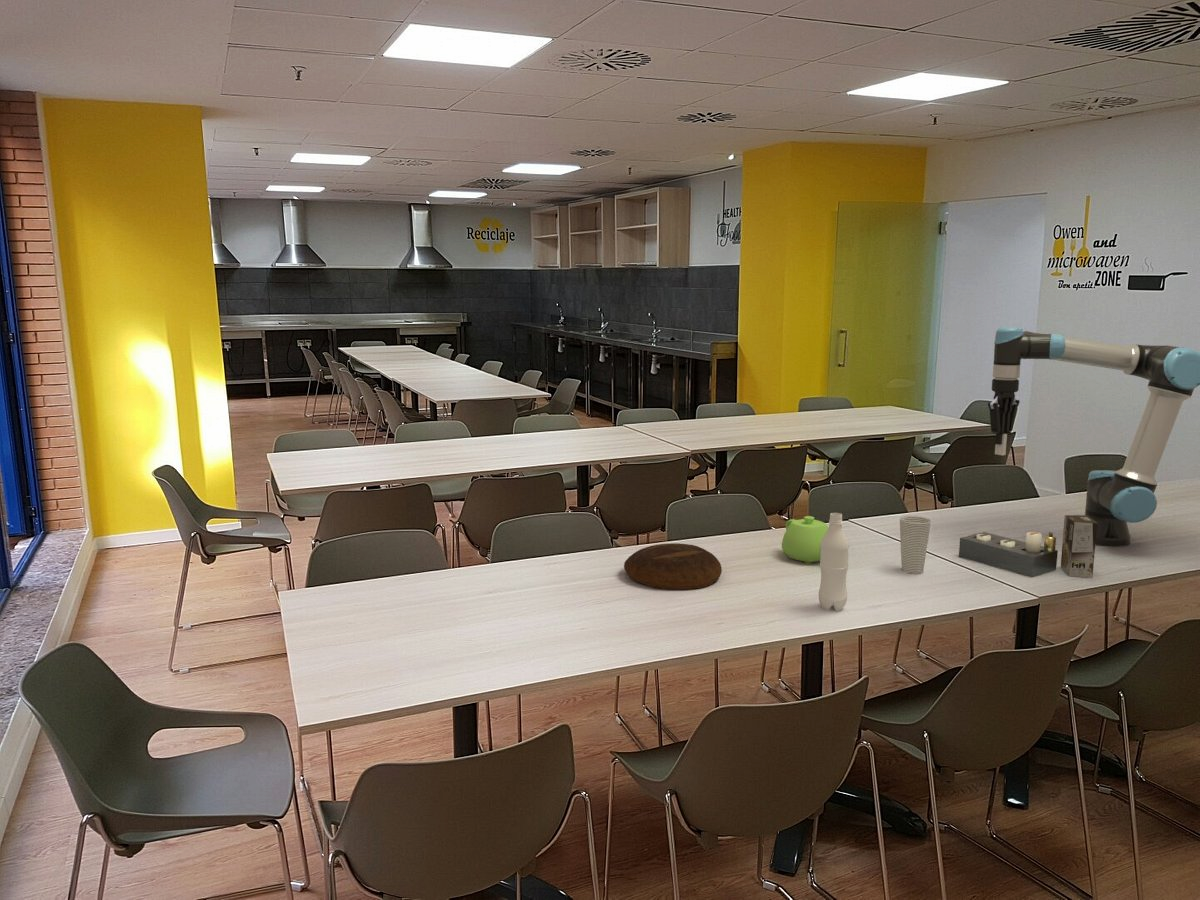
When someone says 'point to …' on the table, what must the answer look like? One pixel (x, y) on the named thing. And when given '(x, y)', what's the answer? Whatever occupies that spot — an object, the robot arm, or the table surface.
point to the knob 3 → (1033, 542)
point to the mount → (1007, 555)
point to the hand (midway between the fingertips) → (1000, 454)
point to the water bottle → (834, 565)
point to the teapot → (804, 539)
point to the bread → (673, 566)
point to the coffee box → (1078, 545)
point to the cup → (913, 543)
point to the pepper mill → (1050, 542)
